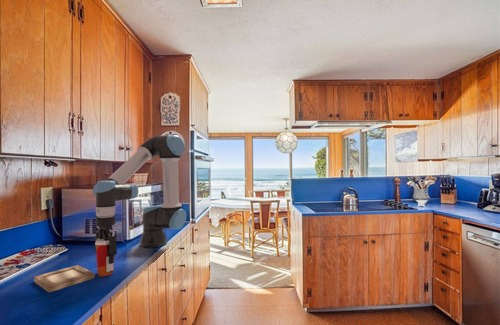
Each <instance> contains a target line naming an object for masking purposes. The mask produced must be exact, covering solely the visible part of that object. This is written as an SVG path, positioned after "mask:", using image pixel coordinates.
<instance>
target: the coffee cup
mask: <svg viewBox="0 0 500 325" xmlns="http://www.w3.org/2000/svg"><path fill="white" fill-rule="evenodd" d="M107 243H108V244H109V241H104V238H103V239H97V240H96V242H94V246H95V245H96V250H95V251H96V252H95V253H96V254H95V255H96V268H97V269H96V271H97V276H98V277H106V276H111V275H113V274H114V270H112V271H109V272H106V256H107V255H108V254H107ZM114 257H115V255H114Z"/></svg>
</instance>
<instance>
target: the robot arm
mask: <svg viewBox="0 0 500 325" xmlns="http://www.w3.org/2000/svg"><path fill="white" fill-rule="evenodd" d="M184 152H185V142H184V140H183V139H182V137H180V136H179V135H177V134H166V135H155V136H151V137H150V138H148V139H146V141H144V142H143V143H141V144H140V145H139V146H138V147H137V149H136V151H135V152H134V154H132V155H131V156H130V157H129V158H128V159H127V160H126V161H125V162H124V163H123V164H121V166H119V168H118V169H116V170H115V171H114V172H113V173H112V174H111V175H109V177H107V179H105V180H99V181H97V182H96V184H95V185H93V188H92V194H93V197H95V203H96V204H95V210H94V211H95V216H96V218H95V226H96V228H95V230H94V231H95V239H94V240H95V242H96V240H97V239H103V238H104V241H109V244H108V243H107V254H108V255H107V256H106V272H109V271H112V270H113V271H114V268H115V256H114V255H118V250H117V249H118V247H117V245H118V244H117V231H116V230H113V229H114V228H113V226H114V225H115V224H116V216H115V215H116V210H117V209H116V208H117V207H116V202H118V201H119V202H120V201H126V200H134V199H136V198H137V197H138V195H139V188H138V186H137V184H135V183H127V181H129V179H130V178H131V177H132V176H133V175H135V173H137V171H138V170H140V169H141V167H142V166H143V165H144V164H146V163H147V162H148V161H151V160H152V159H153V158H154V157H158V156H159V160H160V161H161V162H162V187H163V190H162V192H163V203H162V204H158V205H149V206H145V207H144V208H143V213H142V221H143V222H142V225H143V226H142V235H141V237H140V241H139V246H140V247H141V248H147V249H149V248H158V247H159V248H160V247H163V246H165V245H166V244H167V243H168V242H167V241H168V240H167V237H166V234H165V231H164V229H169V230H179V229H181V228H182V227H183V226H184V224H185V223H186V220H187V212H186V210H185V209H183V206H182V203H181V202H180V189H179V187H180V186H179V185H180V184H179V161H180V160H181V157H182V156H181V155H183V154H185V153H184ZM95 242H94V243H95ZM94 251H96V245H95V244H94Z"/></svg>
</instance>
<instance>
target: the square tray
mask: <svg viewBox="0 0 500 325" xmlns="http://www.w3.org/2000/svg"><path fill="white" fill-rule="evenodd" d="M92 279H95V272H93V271H91V270H89V269H87V268H86V267H83V266H81V265H79V264H77V265H76V264H75V265H73V266H69V267H64V268H61V269H58V270H54V271H51V272H45V273H42V274H39V275H35V276H34V277H33V282H34V283H35V284H37V285H38V286H39V287H40V288H42V289H43V290H45V292H47V293H52V292H55V291H59V290H61V289H64V288H67V287H70V286H73V285H76V284H81V283H83V282H86V281H87V282H88V281H89V280H92Z"/></svg>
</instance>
